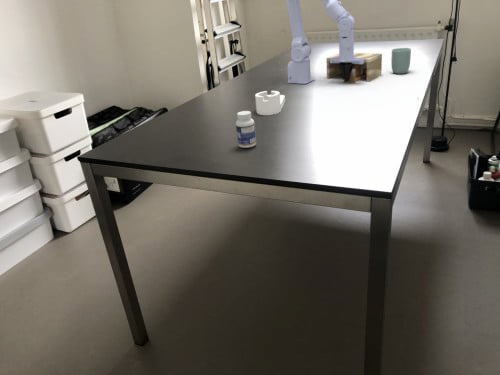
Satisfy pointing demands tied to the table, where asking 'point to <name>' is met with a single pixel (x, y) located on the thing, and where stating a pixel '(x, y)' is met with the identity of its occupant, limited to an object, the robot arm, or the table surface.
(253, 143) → the pill bottle
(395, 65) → the cup
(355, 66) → the caddy
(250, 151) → the table surface
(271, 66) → the table surface
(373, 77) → the wooden crate
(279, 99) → the bracket
